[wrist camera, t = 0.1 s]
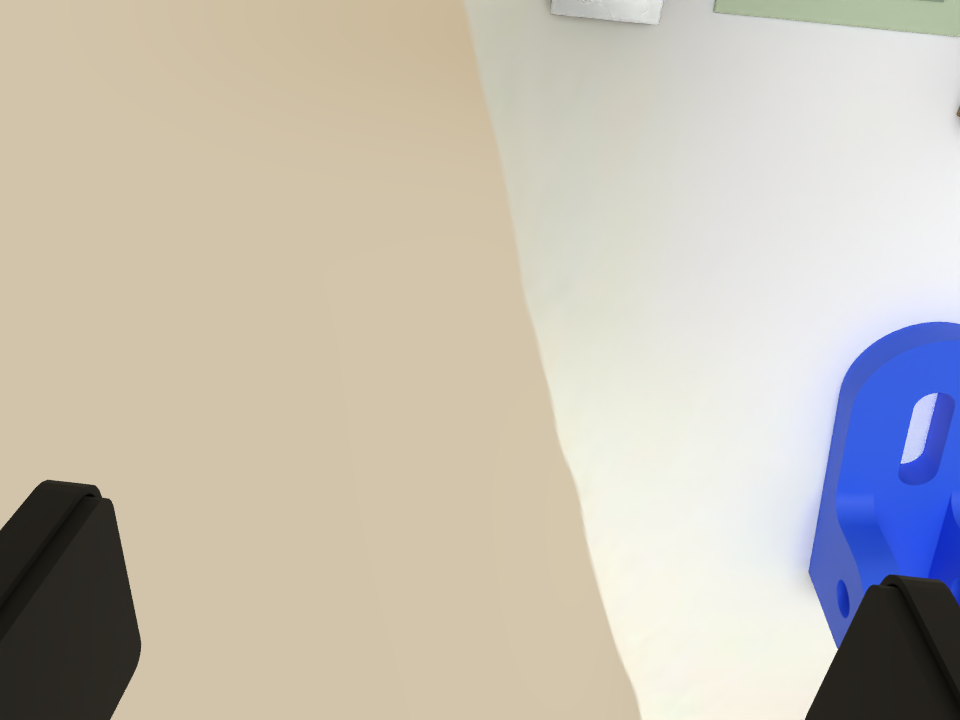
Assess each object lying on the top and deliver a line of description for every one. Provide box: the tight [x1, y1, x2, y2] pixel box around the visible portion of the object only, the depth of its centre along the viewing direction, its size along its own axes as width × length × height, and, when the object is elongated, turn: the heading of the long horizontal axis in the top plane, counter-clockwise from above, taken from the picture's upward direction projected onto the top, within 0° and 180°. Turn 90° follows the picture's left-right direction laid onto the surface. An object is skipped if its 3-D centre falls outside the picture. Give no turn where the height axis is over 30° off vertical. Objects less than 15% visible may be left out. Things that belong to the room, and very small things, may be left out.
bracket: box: [809, 322, 960, 649], centre depth 43 cm, size 18×8×9 cm, turn 5°
